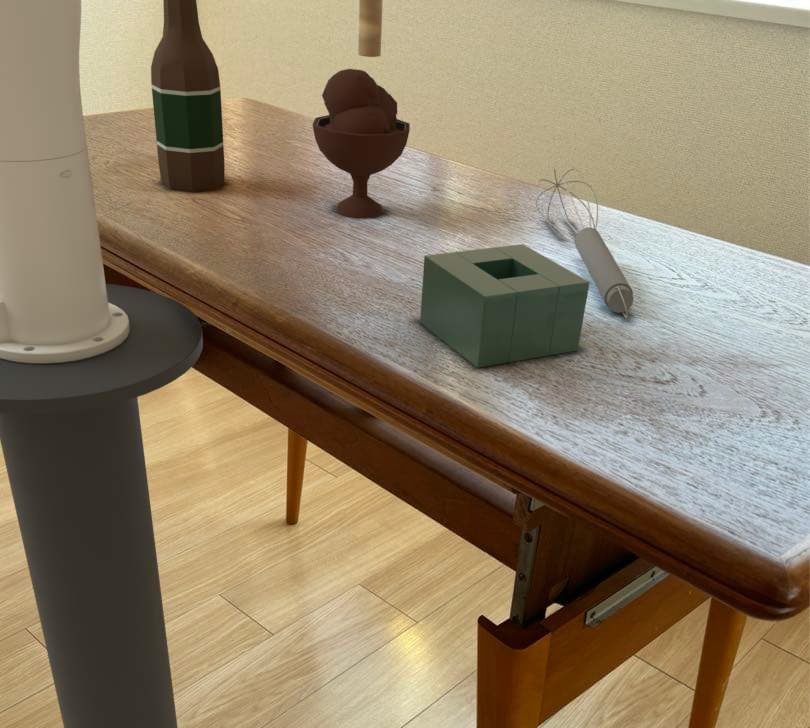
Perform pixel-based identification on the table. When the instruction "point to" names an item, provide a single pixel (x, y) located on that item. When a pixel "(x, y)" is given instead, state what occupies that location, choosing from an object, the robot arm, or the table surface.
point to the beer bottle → (187, 103)
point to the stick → (370, 28)
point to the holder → (502, 304)
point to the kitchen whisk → (596, 256)
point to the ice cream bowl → (359, 134)
